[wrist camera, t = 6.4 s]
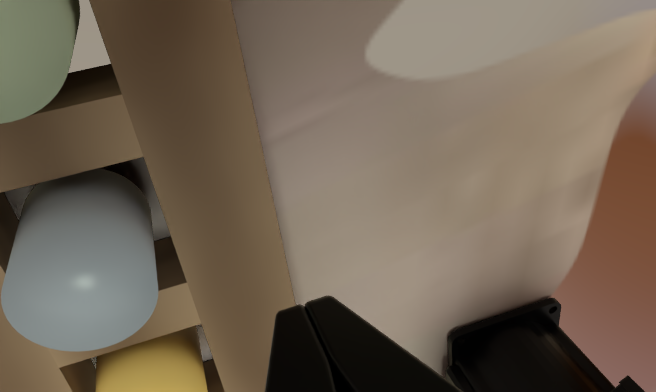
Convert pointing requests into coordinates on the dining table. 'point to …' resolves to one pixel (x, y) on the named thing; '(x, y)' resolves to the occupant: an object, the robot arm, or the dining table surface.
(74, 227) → the button slate
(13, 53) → the button sage
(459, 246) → the dining table surface
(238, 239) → the brown button tray
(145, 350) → the button amber
